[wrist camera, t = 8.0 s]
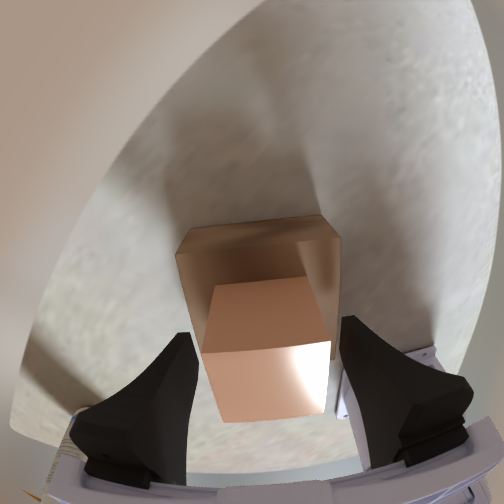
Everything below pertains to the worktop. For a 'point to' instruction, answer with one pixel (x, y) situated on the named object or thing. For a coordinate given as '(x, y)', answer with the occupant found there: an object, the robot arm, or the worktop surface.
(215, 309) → the orange-tan cube
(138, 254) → the worktop surface
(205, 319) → the walnut block
